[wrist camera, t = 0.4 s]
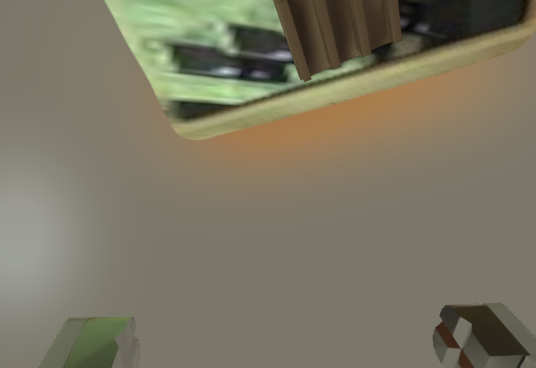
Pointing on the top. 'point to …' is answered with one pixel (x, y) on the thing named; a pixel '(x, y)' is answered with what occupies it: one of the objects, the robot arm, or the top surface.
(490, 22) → the top surface
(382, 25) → the rack
